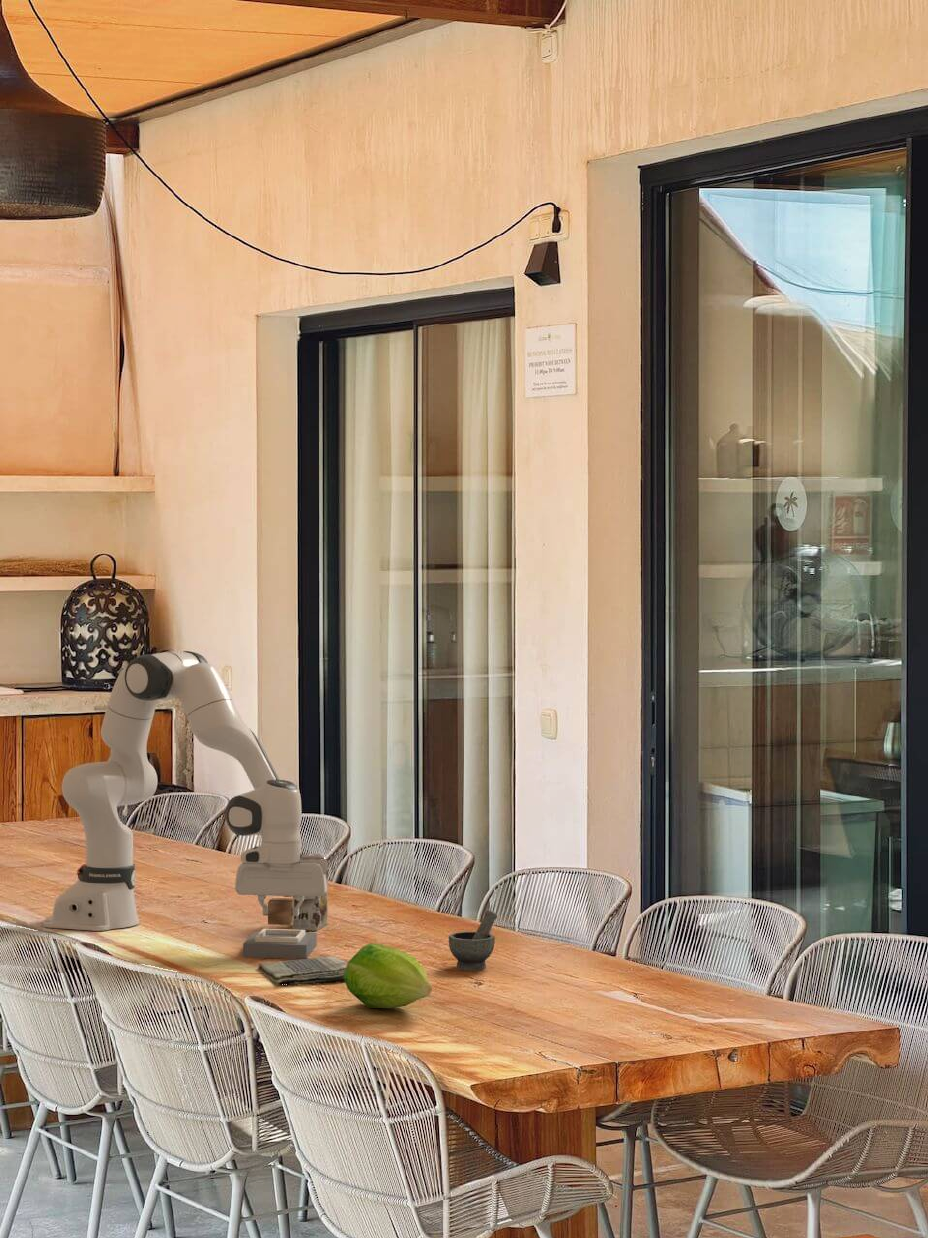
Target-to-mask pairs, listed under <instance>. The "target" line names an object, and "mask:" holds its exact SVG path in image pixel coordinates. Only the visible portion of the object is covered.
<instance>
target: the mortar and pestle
mask: <svg viewBox="0 0 928 1238" xmlns="http://www.w3.org/2000/svg"><path fill="white" fill-rule="evenodd" d="M497 918H498V914H497V913H495V912H494V911H492V910H488V909H487V910H484V917H483V919H482V920H481V922H480V924H479V926H478V927H477V929H476V931H461V932H460V931H459V932H453V933H451V934H449V935H448V946H449V950H450V952H451V954H452V956H453V957H454V958H455V959H456V960H457V963H456V969H458V970H460V971H466V972H478V971H483V970H485V969H487V964H486V961H487V959H489V958H490V956H491V955H492V953H493V951H494V948H495V943H496V942H495V940H496V939H495V935H493V934H492V933H491V932H492V928H493V925H494V922H495V920H496V919H497Z"/></svg>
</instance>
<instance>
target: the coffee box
mask: <svg viewBox="0 0 928 1238" xmlns="http://www.w3.org/2000/svg"><path fill="white" fill-rule="evenodd" d="M325 858H326V860H327V862H328V863H329V858H327V857H325ZM321 859H323V858H321ZM328 872H329V869H328V870H327V872H326V873H325V874H326V883H327V891H326V893H325V894H324V895H323V896H321V897H317V896H304V901H303V902H302V904H301V906H300V907H299V916H294V921H293V922H292V929H291V930H305V931H313V932H316V931H318V930H320V929H322V928H324V927H325V926H327V925H328V907H329V906H328V895H329V894H328V892H329V890H328V889H329V886H328V885H329V878H328V877H329V873H328ZM292 898H293V899H294V907H296V906H297V904H298V902H299V901H297V896H292Z"/></svg>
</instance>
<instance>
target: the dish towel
mask: <svg viewBox="0 0 928 1238" xmlns="http://www.w3.org/2000/svg"><path fill="white" fill-rule="evenodd" d="M347 963H348V962H347V961H344V960H342V959H340V958H338V957H335V956H320V957H319V956H318V957H314V958H313V957H312V958H307V959H291V960H289V959H288V960H283V961H274V962H272V961H270V962H266V963H265V962H264V963H263V962H262V963H259V964H258V970H259V971H260V972H261V973H262V974H263V975H264V974H265V975H266V976H265V975H264V976H265V977H266V978H267V979H268V978H269V979H270V980H269V979H268V980H269V981H271V982H272V983H273V984H274V985H276V986H277V987H281V986H280V985H282V984H283V985H284V984H287V985H286V986H288V985H290V986H299V985H298V984H309V985H314V984H313V983H315V984H317V983H319V984H320V983H321V985H323V984H324V983H325V984H337V982H340V983H342V982H341V981H343V982H345V979H344V974H345V971H346V967H347Z"/></svg>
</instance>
